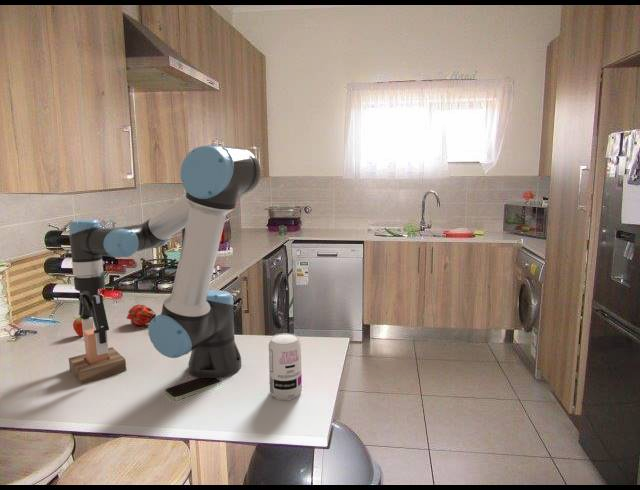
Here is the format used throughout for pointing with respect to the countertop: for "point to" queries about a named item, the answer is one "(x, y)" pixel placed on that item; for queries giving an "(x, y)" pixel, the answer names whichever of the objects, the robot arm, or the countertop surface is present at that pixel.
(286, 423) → the countertop surface
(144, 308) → the dragon fruit
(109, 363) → the socket
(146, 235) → the robot arm
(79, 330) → the fruit
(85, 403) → the countertop surface
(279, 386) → the supplement can
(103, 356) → the peg
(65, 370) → the countertop surface
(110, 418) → the countertop surface
